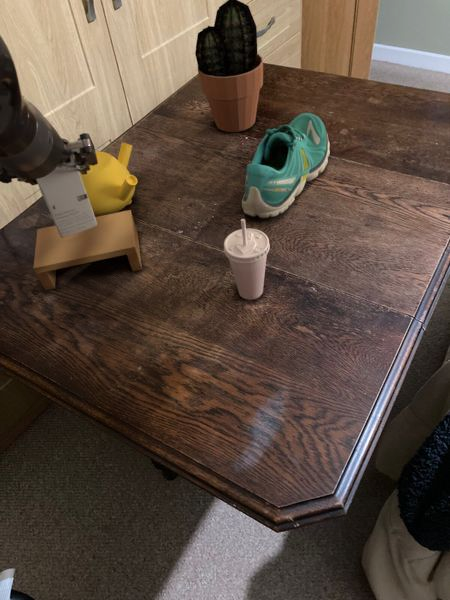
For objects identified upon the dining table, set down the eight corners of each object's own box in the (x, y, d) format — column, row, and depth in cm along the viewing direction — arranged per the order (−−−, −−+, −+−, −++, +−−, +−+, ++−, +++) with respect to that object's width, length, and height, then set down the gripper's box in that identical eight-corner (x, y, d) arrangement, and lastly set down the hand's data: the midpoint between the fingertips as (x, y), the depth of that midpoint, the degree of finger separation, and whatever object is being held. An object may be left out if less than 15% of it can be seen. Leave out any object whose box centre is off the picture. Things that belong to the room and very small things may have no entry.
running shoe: (340, 145, 100) (344, 90, 92) (291, 232, 83) (291, 174, 75) (288, 138, 104) (287, 84, 96) (232, 219, 87) (225, 163, 79)
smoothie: (225, 303, 74) (214, 231, 64) (235, 274, 78) (226, 201, 68) (267, 308, 72) (263, 234, 62) (275, 277, 76) (272, 204, 66)
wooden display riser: (45, 290, 80) (33, 268, 76) (48, 251, 87) (37, 229, 83) (142, 269, 81) (134, 246, 77) (137, 232, 88) (130, 209, 84)
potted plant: (221, 105, 117) (208, -15, 99) (275, 111, 112) (271, -13, 94) (194, 133, 110) (174, 9, 91) (250, 142, 105) (241, 12, 86)
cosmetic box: (61, 239, 75) (29, 170, 66) (55, 224, 78) (23, 156, 69) (100, 225, 76) (73, 155, 67) (92, 210, 79) (66, 141, 70)
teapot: (147, 220, 90) (133, 167, 82) (73, 236, 89) (51, 183, 81) (141, 178, 100) (127, 127, 91) (74, 192, 99) (54, 141, 91)
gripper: (74, 92, 56) (101, 137, 72) (-54, 117, 55) (3, 157, 71) (89, 157, 56) (113, 188, 72) (-38, 183, 55) (15, 208, 72)
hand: (58, 173), depth 72 cm, fingers closed on cosmetic box, 6 cm apart
